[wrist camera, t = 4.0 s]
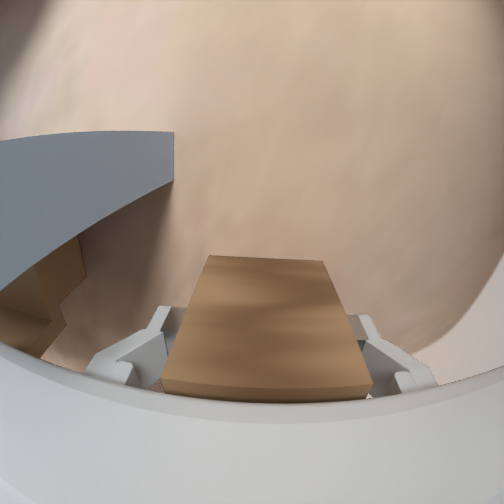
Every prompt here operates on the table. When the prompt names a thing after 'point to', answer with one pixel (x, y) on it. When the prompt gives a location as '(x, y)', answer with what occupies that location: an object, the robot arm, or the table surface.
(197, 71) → the table surface
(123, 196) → the wall board
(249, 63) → the table surface
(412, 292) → the table surface
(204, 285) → the tan wooden cube
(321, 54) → the table surface
